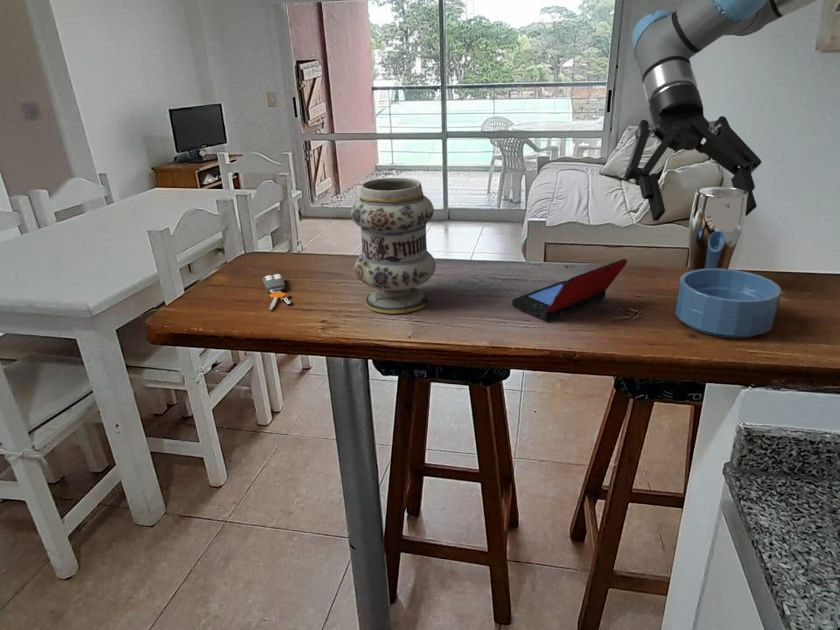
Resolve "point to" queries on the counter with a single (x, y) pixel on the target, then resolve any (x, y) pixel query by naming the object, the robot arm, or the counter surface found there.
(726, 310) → the bowl
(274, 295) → the key chain
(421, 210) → the apothecary jar
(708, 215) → the beer glass
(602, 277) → the handheld console
